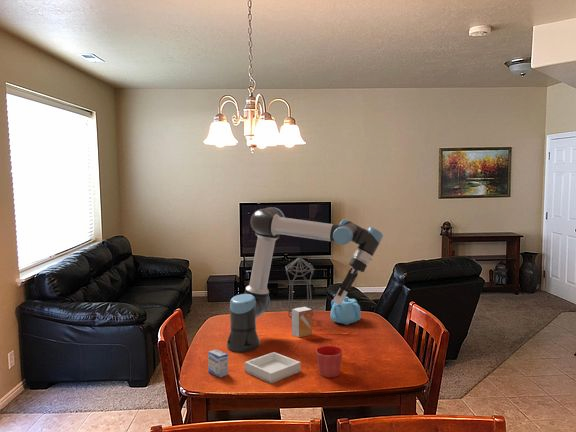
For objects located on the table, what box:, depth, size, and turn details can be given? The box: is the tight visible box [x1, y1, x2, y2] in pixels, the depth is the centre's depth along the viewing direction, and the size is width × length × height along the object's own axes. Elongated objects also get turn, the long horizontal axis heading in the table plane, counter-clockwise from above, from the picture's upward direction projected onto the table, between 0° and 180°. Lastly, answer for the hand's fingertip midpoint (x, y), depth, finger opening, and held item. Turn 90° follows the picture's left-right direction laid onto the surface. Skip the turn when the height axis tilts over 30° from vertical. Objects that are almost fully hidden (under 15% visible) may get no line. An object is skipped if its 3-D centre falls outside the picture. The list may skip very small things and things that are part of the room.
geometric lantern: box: [285, 257, 315, 319], centre depth 263 cm, size 16×16×35 cm
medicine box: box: [207, 349, 229, 378], centre depth 197 cm, size 8×4×9 cm, turn 45°
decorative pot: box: [329, 296, 362, 326], centre depth 264 cm, size 16×16×14 cm
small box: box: [291, 306, 313, 338], centre depth 243 cm, size 8×6×13 cm
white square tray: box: [244, 351, 302, 384], centre depth 199 cm, size 16×16×4 cm
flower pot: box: [315, 345, 343, 378], centre depth 196 cm, size 11×11×10 cm
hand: (336, 303), depth 215 cm, fingers open, 13 cm apart
